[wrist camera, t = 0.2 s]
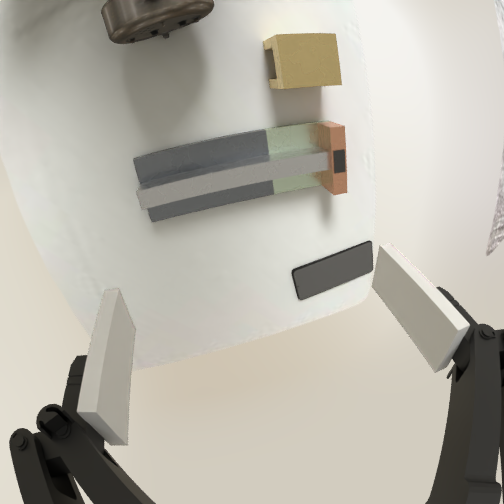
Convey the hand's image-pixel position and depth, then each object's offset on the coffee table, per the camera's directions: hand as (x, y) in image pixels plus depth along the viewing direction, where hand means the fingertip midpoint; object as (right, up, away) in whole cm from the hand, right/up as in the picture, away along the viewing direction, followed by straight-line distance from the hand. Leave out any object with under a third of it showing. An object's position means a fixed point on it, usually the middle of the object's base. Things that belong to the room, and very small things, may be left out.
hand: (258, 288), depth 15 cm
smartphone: (+14, -1, +37) cm, 40 cm away
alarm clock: (-11, +29, +13) cm, 33 cm away
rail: (-2, +13, +24) cm, 28 cm away
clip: (+5, +26, +18) cm, 32 cm away
